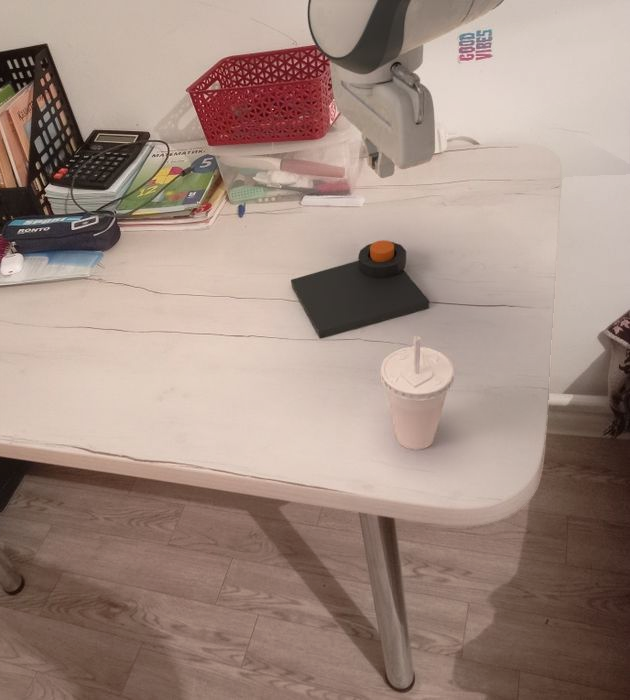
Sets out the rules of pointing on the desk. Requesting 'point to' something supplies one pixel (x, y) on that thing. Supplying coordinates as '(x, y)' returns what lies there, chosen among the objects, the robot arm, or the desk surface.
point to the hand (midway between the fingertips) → (380, 170)
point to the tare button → (382, 251)
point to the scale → (359, 293)
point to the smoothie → (416, 392)
